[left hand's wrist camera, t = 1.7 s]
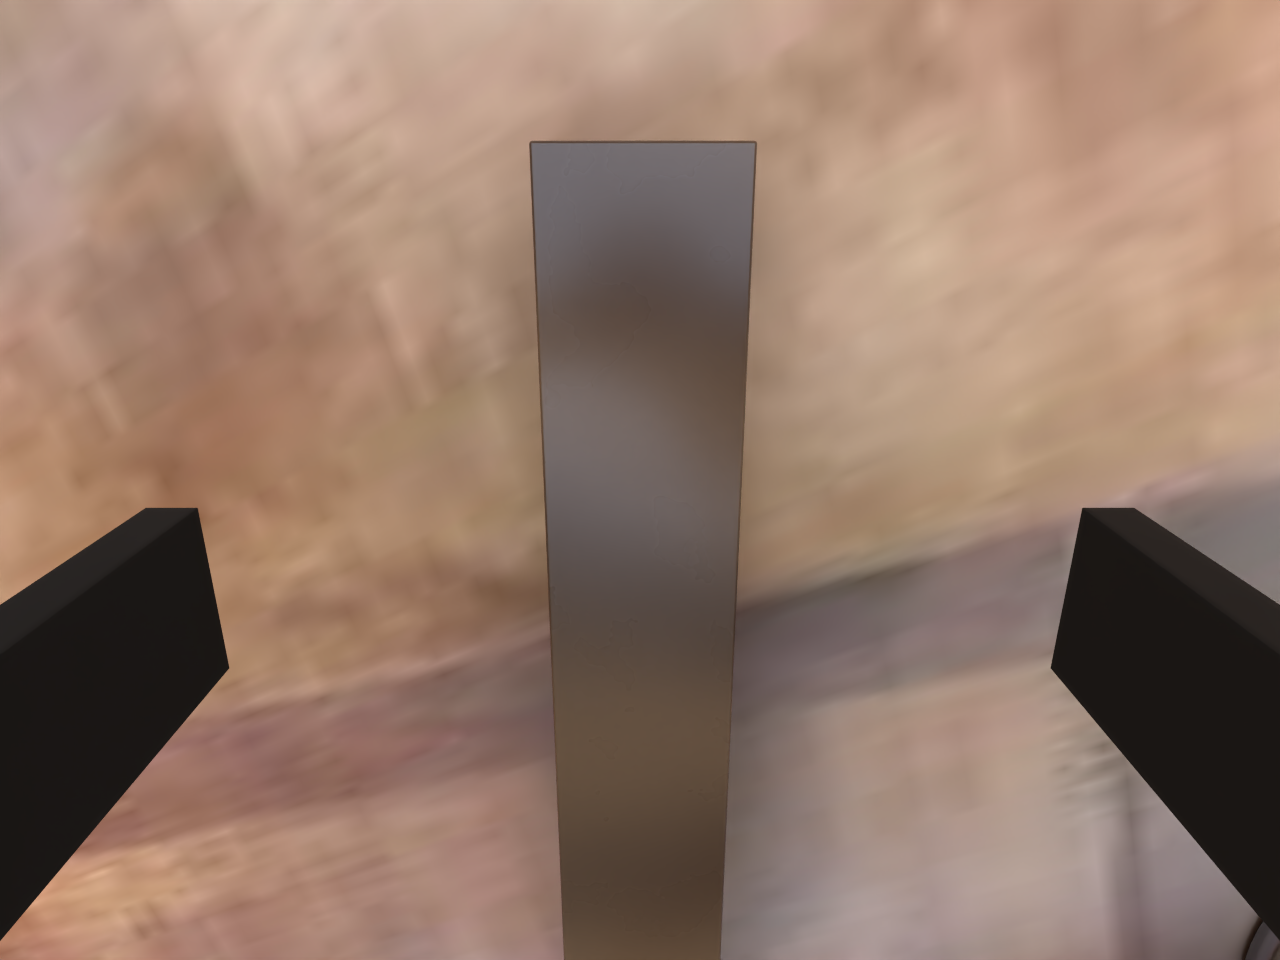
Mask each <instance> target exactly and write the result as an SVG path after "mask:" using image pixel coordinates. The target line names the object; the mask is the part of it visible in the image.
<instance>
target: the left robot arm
mask: <svg viewBox="0 0 1280 960" xmlns="http://www.w3.org/2000/svg"><path fill="white" fill-rule="evenodd" d="M228 669H229V664H228V659H227V654H226V649H225V644H224V639H223V634H222V629H221V624H220V619H219V614H218V609H217V604H216V599H215V594H214V589H213V583H212V578H211V573H210V568H209V563H208V558H207V553H206V548H205V543H204V538H203V533H202V528H201V523H200V518H199V513H198V508H145V509H144V510H142V511H141V512H139V513H138V514H136V515H135V516H133V517H132V518H130V519H129V520H127V521H126V522H124V523H123V524H121V525H120V526H118V527H117V528H115V529H114V530H112V531H111V532H109V533H108V534H106V535H105V536H103V537H102V538H100V539H99V540H97V541H96V542H94V543H93V544H91V545H90V546H88V547H87V548H85V549H84V550H82V551H81V552H79V553H78V554H76V555H75V556H73V557H72V558H70V559H69V560H67V561H66V562H64V563H63V564H61V565H60V566H58V567H57V568H55V569H54V570H52V571H51V572H49V573H48V574H46V575H45V576H43V577H42V578H40V579H39V580H37V581H35V582H34V583H32V584H31V585H29V586H28V587H26V588H25V589H23V590H22V591H20V592H19V593H17V594H16V595H14V596H13V597H11V598H10V599H8V600H7V601H5V602H4V603H2V604H1V605H0V941H1V939H2V938H3V937H4V936H5V935H6V933H7V932H8V931H9V930H10V929H11V927H12V926H13V925H14V924H15V923H16V921H17V920H18V919H19V918H20V917H21V916H22V914H23V913H24V912H25V911H26V910H27V908H28V907H29V906H30V905H31V904H32V902H33V901H34V900H35V899H36V898H37V896H38V895H39V894H40V893H41V892H42V890H43V889H44V888H45V887H46V886H47V885H48V883H49V882H50V881H51V880H52V879H53V877H54V876H55V875H56V874H57V873H58V871H59V870H60V869H61V868H62V867H63V865H64V864H65V863H66V862H67V861H68V860H69V858H70V857H71V856H72V855H73V854H74V852H75V851H76V850H77V849H78V848H79V846H80V845H81V844H82V843H83V842H84V840H85V839H86V838H87V837H88V836H89V835H90V833H91V832H92V831H93V830H94V829H95V827H96V826H97V825H98V824H99V823H100V821H101V820H102V819H103V818H104V817H105V815H106V814H107V813H108V812H109V811H110V810H111V808H112V807H113V806H114V805H115V804H116V802H117V801H118V800H119V799H120V798H121V796H122V795H123V794H124V793H125V792H126V790H127V789H128V788H129V787H130V786H131V785H132V783H133V782H134V781H135V780H136V779H137V777H138V776H139V775H140V774H141V773H142V771H143V770H144V769H145V768H146V767H147V765H148V764H149V763H150V762H151V761H152V759H153V758H154V757H155V756H156V755H157V754H158V752H159V751H160V750H161V749H162V748H163V746H164V745H165V744H166V743H167V742H168V740H169V739H170V738H171V737H172V736H173V734H174V733H175V732H176V731H177V730H178V729H179V727H180V726H181V725H182V724H183V723H184V721H185V720H186V719H187V718H188V717H189V715H190V714H191V713H192V712H193V711H194V709H195V708H196V707H197V706H198V705H199V704H200V702H201V701H202V700H203V699H204V698H205V696H206V695H207V694H208V693H209V692H210V690H211V689H212V688H213V687H214V686H215V684H216V683H217V682H218V681H219V680H220V679H221V677H222V676H223V675H224V674H225V673H226V671H227V670H228ZM1051 669H1052V670H1053V671H1054V673H1055V674H1056V675H1057V676H1058V677H1059V679H1060V680H1061V681H1062V682H1063V683H1064V684H1065V686H1066V687H1067V688H1068V689H1069V690H1070V692H1071V693H1072V694H1073V695H1074V696H1075V698H1076V699H1077V700H1078V701H1079V702H1080V704H1081V705H1082V706H1083V707H1084V708H1085V709H1086V711H1087V712H1088V713H1089V714H1090V715H1091V717H1092V718H1093V719H1094V720H1095V721H1096V723H1097V724H1098V725H1099V726H1100V727H1101V729H1102V730H1103V731H1104V732H1105V733H1106V734H1107V736H1108V737H1109V738H1110V739H1111V740H1112V742H1113V743H1114V744H1115V745H1116V746H1117V748H1118V749H1119V750H1120V751H1121V752H1122V754H1123V755H1124V756H1125V757H1126V758H1127V759H1128V761H1129V762H1130V763H1131V764H1132V765H1133V767H1134V768H1135V769H1136V770H1137V771H1138V773H1139V774H1140V775H1141V776H1142V777H1143V779H1144V780H1145V781H1146V782H1147V783H1148V785H1149V786H1150V787H1151V788H1152V789H1153V790H1154V792H1155V793H1156V794H1157V795H1158V796H1159V798H1160V799H1161V800H1162V801H1163V802H1164V804H1165V805H1166V806H1167V807H1168V808H1169V810H1170V811H1171V812H1172V813H1173V814H1174V815H1175V817H1176V818H1177V819H1178V820H1179V821H1180V823H1181V824H1182V825H1183V826H1184V827H1185V829H1186V830H1187V831H1188V832H1189V833H1190V835H1191V836H1192V837H1193V838H1194V839H1195V840H1196V842H1197V843H1198V844H1199V845H1200V846H1201V848H1202V849H1203V850H1204V851H1205V852H1206V854H1207V855H1208V856H1209V857H1210V858H1211V860H1212V861H1213V862H1214V863H1215V864H1216V865H1217V867H1218V868H1219V869H1220V870H1221V871H1222V873H1223V874H1224V875H1225V876H1226V877H1227V879H1228V880H1229V881H1230V882H1231V883H1232V885H1233V886H1234V887H1235V888H1236V889H1237V890H1238V892H1239V893H1240V894H1241V895H1242V896H1243V898H1244V899H1245V900H1246V901H1247V902H1248V904H1249V905H1250V906H1251V907H1252V908H1253V910H1254V911H1255V912H1256V913H1257V914H1258V916H1259V917H1260V918H1261V919H1262V920H1263V922H1262V924H1261V926H1260V927H1259V929H1258V930H1257V932H1256V934H1255V936H1254V938H1253V940H1252V942H1251V945H1250V947H1249V950H1248V953H1247V955H1246V959H1245V960H1280V605H1279V604H1278V603H1276V602H1275V601H1273V600H1272V599H1270V598H1269V597H1267V596H1266V595H1264V594H1263V593H1261V592H1260V591H1258V590H1257V589H1255V588H1254V587H1252V586H1251V585H1249V584H1248V583H1246V582H1245V581H1243V580H1241V579H1240V578H1238V577H1237V576H1235V575H1234V574H1232V573H1231V572H1229V571H1228V570H1226V569H1225V568H1223V567H1222V566H1220V565H1219V564H1217V563H1216V562H1214V561H1213V560H1211V559H1210V558H1208V557H1207V556H1205V555H1204V554H1202V553H1201V552H1199V551H1198V550H1196V549H1195V548H1193V547H1192V546H1190V545H1189V544H1187V543H1186V542H1184V541H1183V540H1181V539H1180V538H1178V537H1177V536H1175V535H1174V534H1172V533H1171V532H1169V531H1168V530H1166V529H1165V528H1163V527H1162V526H1160V525H1159V524H1157V523H1156V522H1154V521H1153V520H1151V519H1150V518H1148V517H1147V516H1145V515H1144V514H1142V513H1141V512H1139V511H1138V510H1136V509H1135V508H1082V513H1081V518H1080V523H1079V528H1078V533H1077V538H1076V543H1075V548H1074V553H1073V558H1072V563H1071V568H1070V573H1069V578H1068V583H1067V589H1066V594H1065V599H1064V604H1063V609H1062V614H1061V619H1060V624H1059V629H1058V634H1057V639H1056V644H1055V649H1054V654H1053V659H1052V664H1051Z"/></svg>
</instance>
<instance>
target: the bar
mask: <svg viewBox="0 0 1280 960" xmlns="http://www.w3.org/2000/svg"><path fill="white" fill-rule="evenodd" d="M529 148H530V171H531V194H532V218H533V241H534V265H535V288H536V312H537V335H538V359H539V382H540V406H541V429H542V452H543V476H544V499H545V523H546V546H547V570H548V593H549V617H550V640H551V664H552V687H553V710H554V734H555V757H556V781H557V804H558V828H559V851H560V875H561V898H562V922H563V945H564V960H720V952H721V930H722V908H723V885H724V863H725V841H726V819H727V797H728V774H729V752H730V730H731V708H732V685H733V663H734V641H735V619H736V597H737V574H738V552H739V530H740V508H741V485H742V463H743V441H744V419H745V397H746V374H747V352H748V330H749V308H750V285H751V263H752V241H753V219H754V197H755V174H756V152H757V143H756V141H531V142H530V143H529Z"/></svg>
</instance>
